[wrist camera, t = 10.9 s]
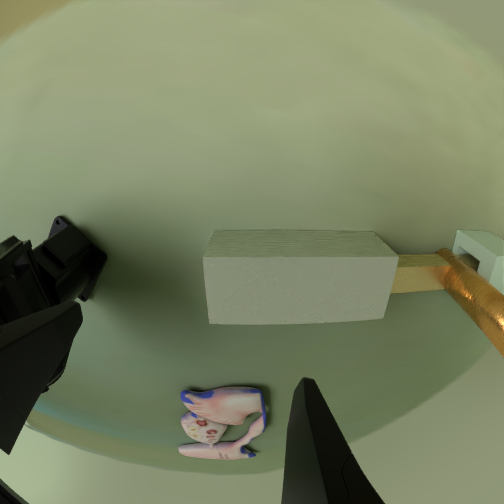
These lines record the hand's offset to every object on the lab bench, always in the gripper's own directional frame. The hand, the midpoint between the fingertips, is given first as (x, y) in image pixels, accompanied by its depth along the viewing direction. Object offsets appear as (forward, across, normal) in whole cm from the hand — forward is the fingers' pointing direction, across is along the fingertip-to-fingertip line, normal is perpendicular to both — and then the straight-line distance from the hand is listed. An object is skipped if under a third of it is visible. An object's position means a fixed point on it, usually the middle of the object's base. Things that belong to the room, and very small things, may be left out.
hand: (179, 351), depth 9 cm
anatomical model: (+12, -2, +28) cm, 31 cm away
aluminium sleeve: (+13, -5, +2) cm, 14 cm away
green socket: (+16, -23, -3) cm, 28 cm away
